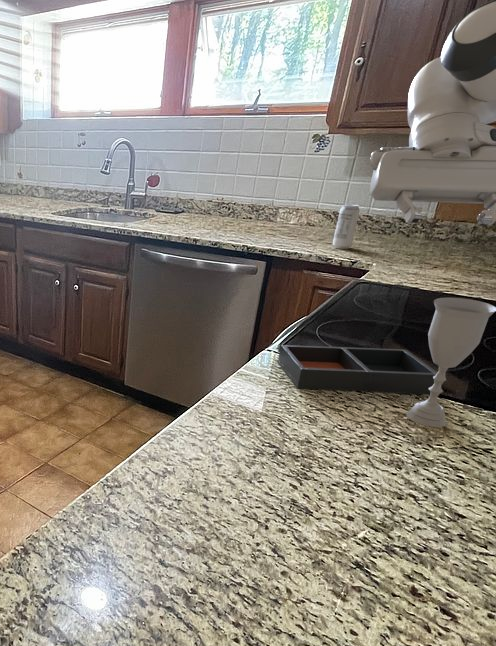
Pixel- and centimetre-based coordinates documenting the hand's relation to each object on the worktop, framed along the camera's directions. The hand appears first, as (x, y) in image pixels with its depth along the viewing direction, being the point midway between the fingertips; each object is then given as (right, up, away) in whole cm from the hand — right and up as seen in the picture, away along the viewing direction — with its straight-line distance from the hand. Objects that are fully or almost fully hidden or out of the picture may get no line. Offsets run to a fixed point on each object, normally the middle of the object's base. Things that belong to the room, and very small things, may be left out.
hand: (450, 222), depth 79 cm
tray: (-6, -24, +14) cm, 28 cm away
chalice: (-3, -30, +1) cm, 30 cm away
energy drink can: (+54, +20, +113) cm, 127 cm away
